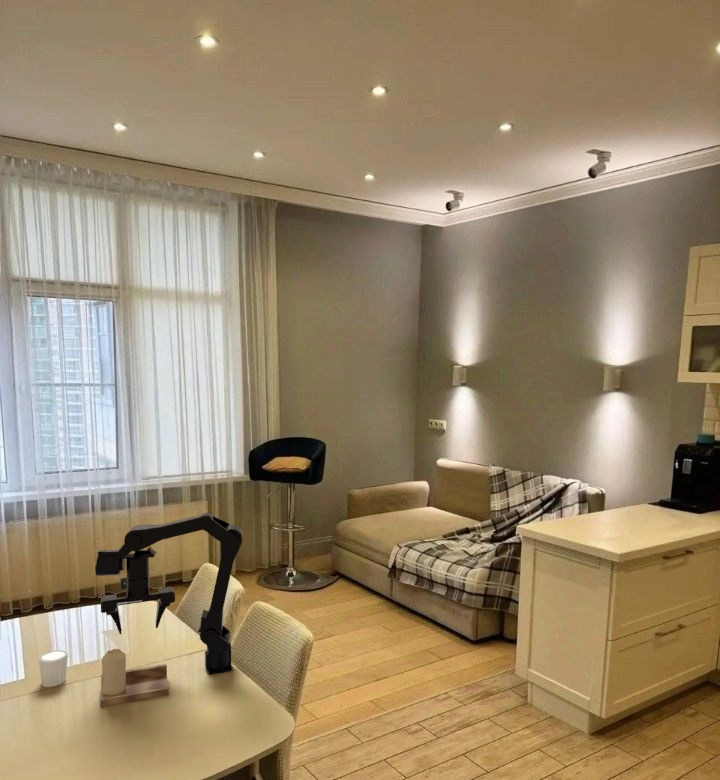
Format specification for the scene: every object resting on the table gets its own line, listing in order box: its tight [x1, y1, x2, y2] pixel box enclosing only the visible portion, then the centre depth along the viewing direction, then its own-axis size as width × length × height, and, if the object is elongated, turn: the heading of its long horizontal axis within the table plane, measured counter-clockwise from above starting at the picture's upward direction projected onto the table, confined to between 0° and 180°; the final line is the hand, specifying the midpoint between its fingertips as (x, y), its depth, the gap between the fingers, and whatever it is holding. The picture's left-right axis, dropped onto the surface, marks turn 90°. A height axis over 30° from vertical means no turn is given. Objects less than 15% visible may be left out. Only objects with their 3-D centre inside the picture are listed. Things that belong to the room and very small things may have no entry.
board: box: [99, 663, 170, 707], centre depth 155 cm, size 16×9×4 cm, turn 111°
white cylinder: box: [38, 649, 69, 688], centre depth 161 cm, size 7×7×7 cm
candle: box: [101, 648, 127, 696], centre depth 153 cm, size 6×6×10 cm
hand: (138, 630), depth 165 cm, fingers open, 9 cm apart
